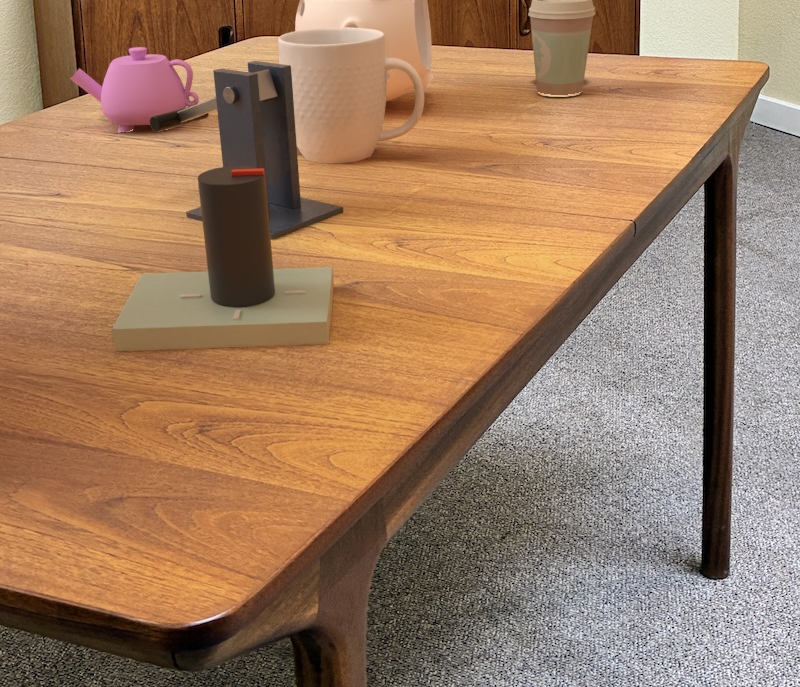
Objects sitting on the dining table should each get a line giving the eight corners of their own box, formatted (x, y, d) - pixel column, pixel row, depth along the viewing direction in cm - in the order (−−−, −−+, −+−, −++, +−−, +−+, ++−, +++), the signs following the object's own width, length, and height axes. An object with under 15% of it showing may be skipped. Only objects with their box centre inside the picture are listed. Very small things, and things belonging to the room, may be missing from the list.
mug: (423, 144, 123) (420, 23, 118) (427, 171, 113) (425, 41, 108) (289, 148, 123) (281, 28, 118) (282, 176, 113) (272, 46, 108)
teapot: (196, 133, 131) (187, 53, 127) (68, 138, 131) (56, 58, 127) (206, 113, 140) (198, 38, 137) (87, 118, 140) (75, 43, 136)
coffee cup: (532, 85, 150) (534, -7, 145) (596, 87, 147) (600, -7, 142) (521, 99, 142) (522, 2, 137) (588, 101, 140) (592, 3, 135)
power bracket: (187, 224, 100) (169, 70, 94) (258, 199, 107) (245, 53, 101) (273, 247, 94) (259, 84, 88) (343, 219, 100) (335, 65, 94)
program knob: (206, 308, 74) (192, 181, 71) (215, 284, 78) (202, 162, 75) (272, 305, 74) (261, 178, 71) (277, 281, 78) (267, 160, 75)
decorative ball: (320, 90, 151) (310, -62, 143) (444, 90, 149) (442, -65, 140) (283, 125, 133) (270, -46, 125) (424, 126, 131) (420, -49, 123)
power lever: (154, 138, 101) (145, 113, 101) (203, 125, 106) (195, 100, 105) (243, 105, 92) (234, 77, 92) (293, 92, 97) (284, 65, 96)
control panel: (117, 370, 73) (110, 326, 72) (146, 311, 82) (141, 271, 81) (329, 362, 73) (326, 318, 72) (335, 304, 82) (332, 264, 81)
